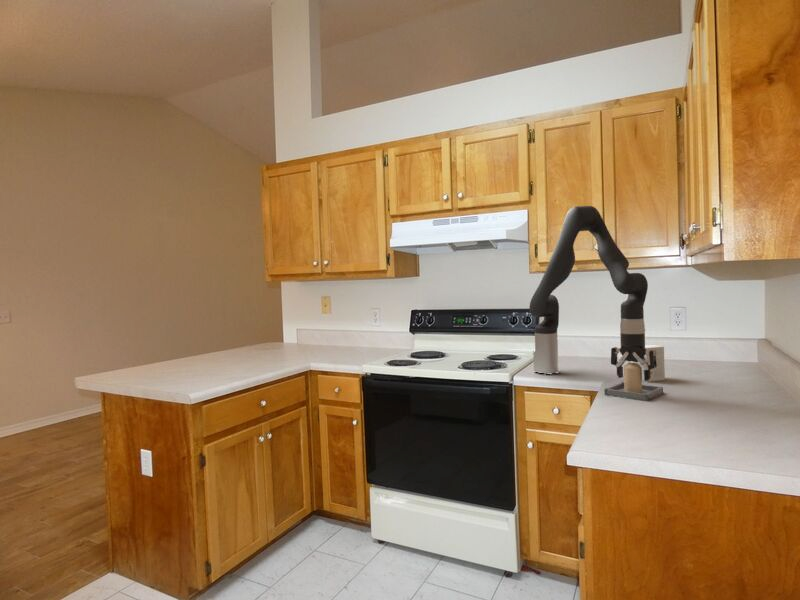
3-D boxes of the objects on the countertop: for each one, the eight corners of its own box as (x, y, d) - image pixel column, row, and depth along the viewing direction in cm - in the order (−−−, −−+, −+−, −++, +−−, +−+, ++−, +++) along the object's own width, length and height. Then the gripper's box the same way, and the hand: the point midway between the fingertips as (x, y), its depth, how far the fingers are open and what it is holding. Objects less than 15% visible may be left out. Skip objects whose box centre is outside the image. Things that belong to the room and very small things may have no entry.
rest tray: (604, 394, 166) (604, 389, 166) (621, 387, 176) (621, 382, 176) (647, 401, 156) (647, 394, 156) (663, 392, 166) (663, 387, 166)
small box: (652, 377, 191) (652, 344, 190) (665, 380, 185) (664, 346, 184) (635, 379, 189) (634, 345, 188) (647, 382, 183) (646, 347, 182)
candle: (632, 394, 163) (631, 364, 163) (620, 391, 168) (620, 362, 168) (645, 392, 164) (645, 363, 164) (634, 389, 170) (633, 361, 169)
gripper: (606, 331, 168) (607, 378, 169) (650, 334, 158) (651, 383, 158) (616, 329, 173) (617, 374, 174) (658, 331, 163) (659, 379, 163)
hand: (633, 379), depth 166 cm, fingers open, 8 cm apart
